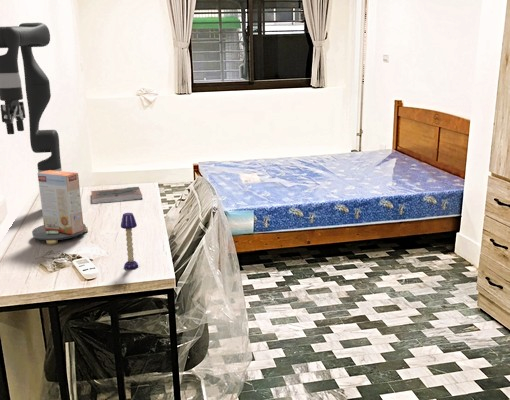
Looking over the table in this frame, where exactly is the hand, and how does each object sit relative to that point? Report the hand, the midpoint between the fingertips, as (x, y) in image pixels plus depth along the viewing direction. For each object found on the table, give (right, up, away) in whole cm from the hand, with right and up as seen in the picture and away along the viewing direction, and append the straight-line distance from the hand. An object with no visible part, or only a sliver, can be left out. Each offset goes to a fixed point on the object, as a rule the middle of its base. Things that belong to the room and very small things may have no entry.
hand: (16, 132), depth 195 cm
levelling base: (+16, -37, 0) cm, 40 cm away
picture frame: (+23, -23, +53) cm, 62 cm away
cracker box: (+18, -35, -3) cm, 40 cm away
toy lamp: (+48, -44, -30) cm, 72 cm away
